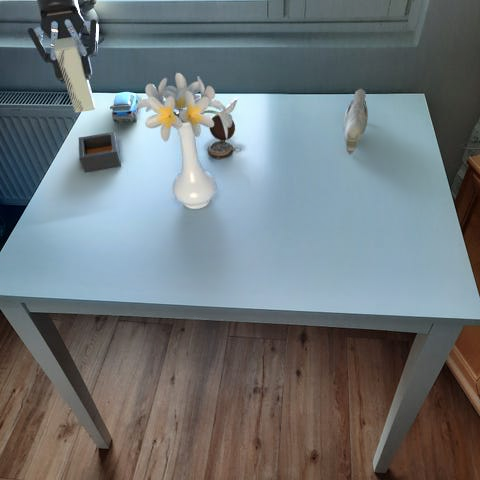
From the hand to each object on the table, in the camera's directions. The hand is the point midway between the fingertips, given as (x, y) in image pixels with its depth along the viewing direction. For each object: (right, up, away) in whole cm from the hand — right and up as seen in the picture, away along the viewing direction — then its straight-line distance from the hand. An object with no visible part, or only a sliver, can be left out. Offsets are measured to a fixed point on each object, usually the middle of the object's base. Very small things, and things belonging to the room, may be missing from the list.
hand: (75, 79), depth 95 cm
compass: (+30, -8, +17) cm, 35 cm away
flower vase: (+25, -22, +7) cm, 34 cm away
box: (0, -3, +7) cm, 7 cm away
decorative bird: (+61, -4, +18) cm, 64 cm away
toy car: (+4, +5, +29) cm, 30 cm away
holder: (0, -10, +17) cm, 20 cm away
